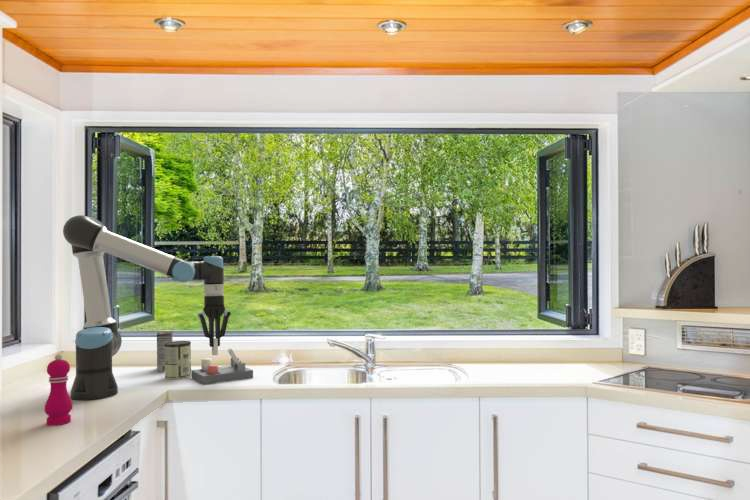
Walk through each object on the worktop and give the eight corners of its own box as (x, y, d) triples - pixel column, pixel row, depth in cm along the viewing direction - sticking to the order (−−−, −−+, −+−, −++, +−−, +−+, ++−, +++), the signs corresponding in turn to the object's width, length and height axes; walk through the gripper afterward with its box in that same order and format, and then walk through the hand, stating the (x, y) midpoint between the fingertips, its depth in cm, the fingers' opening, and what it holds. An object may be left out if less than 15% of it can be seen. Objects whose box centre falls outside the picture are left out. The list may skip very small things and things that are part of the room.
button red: (209, 379, 224) (209, 367, 224) (206, 378, 227) (206, 365, 227) (219, 378, 226) (219, 365, 226) (216, 377, 229) (216, 364, 229)
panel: (203, 384, 220) (203, 368, 221) (191, 377, 234) (191, 362, 234) (253, 377, 232) (252, 362, 232) (238, 371, 245) (238, 357, 245)
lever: (239, 370, 232) (228, 351, 229) (237, 368, 234) (226, 350, 232) (243, 367, 233) (232, 348, 230) (241, 365, 235) (230, 347, 233)
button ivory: (203, 372, 230) (203, 360, 231) (200, 371, 234) (200, 358, 234) (213, 371, 233) (212, 359, 233) (209, 370, 236) (209, 357, 236)
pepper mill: (77, 418, 173) (76, 352, 174) (65, 425, 166) (64, 356, 167) (52, 419, 173) (52, 352, 174) (39, 426, 166) (39, 356, 166)
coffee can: (171, 374, 241) (171, 340, 242) (195, 374, 240) (194, 340, 241) (159, 379, 231) (159, 344, 231) (184, 379, 230) (184, 344, 230)
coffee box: (157, 368, 257) (157, 331, 257) (173, 367, 258) (172, 331, 259) (156, 371, 248) (156, 334, 248) (172, 370, 250) (172, 333, 250)
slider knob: (233, 366, 238) (233, 359, 238) (230, 365, 241) (230, 358, 241) (238, 365, 240) (238, 358, 240) (236, 364, 242) (236, 357, 242)
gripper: (200, 296, 221) (201, 357, 221) (233, 294, 229) (234, 354, 228) (194, 295, 228) (195, 355, 227) (226, 293, 235) (227, 352, 234)
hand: (214, 354), depth 228 cm, fingers closed
